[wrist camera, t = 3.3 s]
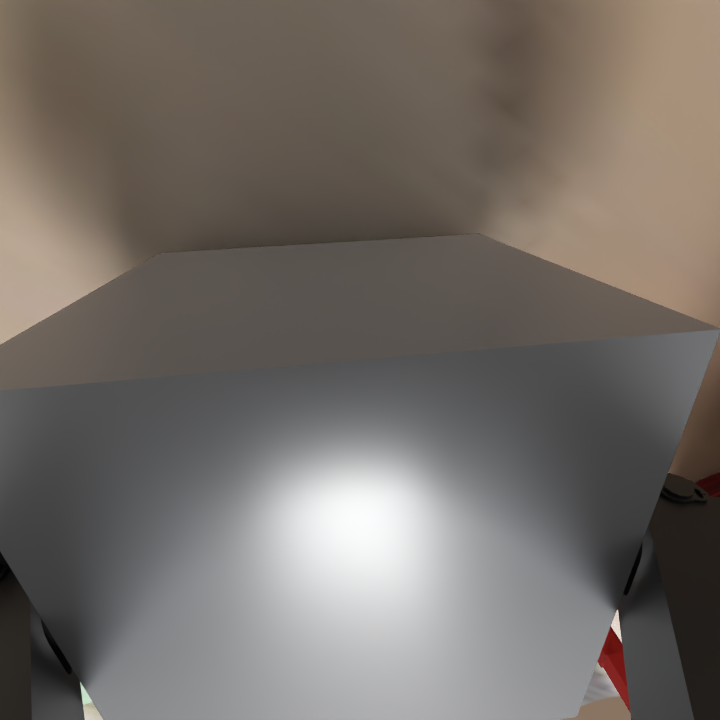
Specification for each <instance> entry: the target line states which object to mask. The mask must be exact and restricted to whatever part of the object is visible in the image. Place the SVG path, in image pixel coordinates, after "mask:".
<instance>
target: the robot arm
mask: <svg viewBox="0 0 720 720" xmlns="http://www.w3.org/2000/svg"><path fill="white" fill-rule="evenodd" d="M618 612H619V620H620V628H621V637H622V645H623V654H624V662H625V671H626V679H627V688H628V696H629V705H630V713H631V720H720V497H712V496H709V494H708V493H707V492H706V491H705V490H703V489H702V488H701V487H699V486H698V485H697V484H695V483H693V482H691V481H689V480H687V479H685V478H683V477H680V476H676V475H673V474H670V473H668V474H667V477H666V479H665V482H664V485H663V487H662V490H661V493H660V495H659V498H658V501H657V503H656V506H655V509H654V511H653V514H652V517H651V519H650V522H649V525H648V527H647V530H646V533H645V535H644V538H643V541H642V543H641V546H640V549H639V552H638V554H637V557H636V560H635V562H634V565H633V568H632V570H631V573H630V576H629V578H628V581H627V584H626V586H625V589H624V592H623V594H622V597H621V600H620V602H619V605H618ZM0 720H84V711H83V702H82V693H81V685H80V681H79V679H78V677H77V676H76V674H75V672H74V671H73V669H72V667H71V666H70V664H69V663H68V661H67V659H66V658H65V656H64V654H63V653H62V651H61V650H60V648H59V646H58V645H57V643H56V641H55V640H54V638H53V636H52V635H51V633H50V632H49V630H48V628H47V627H46V625H45V623H44V622H43V620H42V619H41V617H40V615H39V614H38V612H37V610H36V609H35V607H34V606H33V604H32V602H31V601H30V599H29V597H28V596H27V594H26V592H25V591H24V589H23V588H22V586H21V584H20V583H19V581H18V579H17V578H16V576H15V575H14V573H13V571H12V570H11V568H10V566H9V565H8V563H7V562H6V560H5V558H4V557H3V555H2V553H1V552H0Z"/></svg>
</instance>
